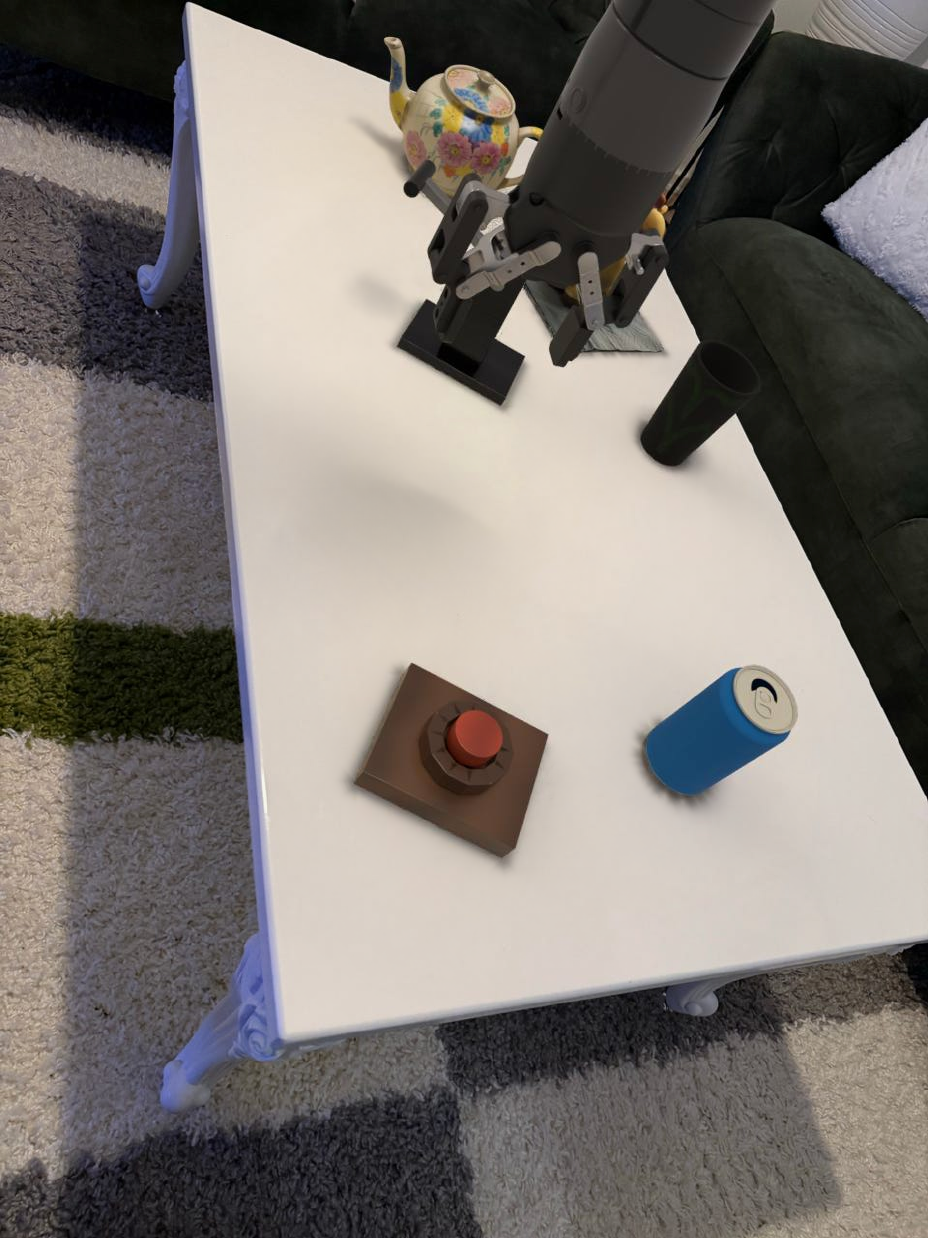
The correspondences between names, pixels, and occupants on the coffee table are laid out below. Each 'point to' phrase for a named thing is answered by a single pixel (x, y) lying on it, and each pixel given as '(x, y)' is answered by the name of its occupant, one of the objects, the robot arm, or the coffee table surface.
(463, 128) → the teapot
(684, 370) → the cup
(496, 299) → the bracket
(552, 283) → the robot arm
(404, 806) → the button block
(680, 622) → the coffee table surface
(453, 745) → the button
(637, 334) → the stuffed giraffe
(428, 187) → the lever
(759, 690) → the beverage can
